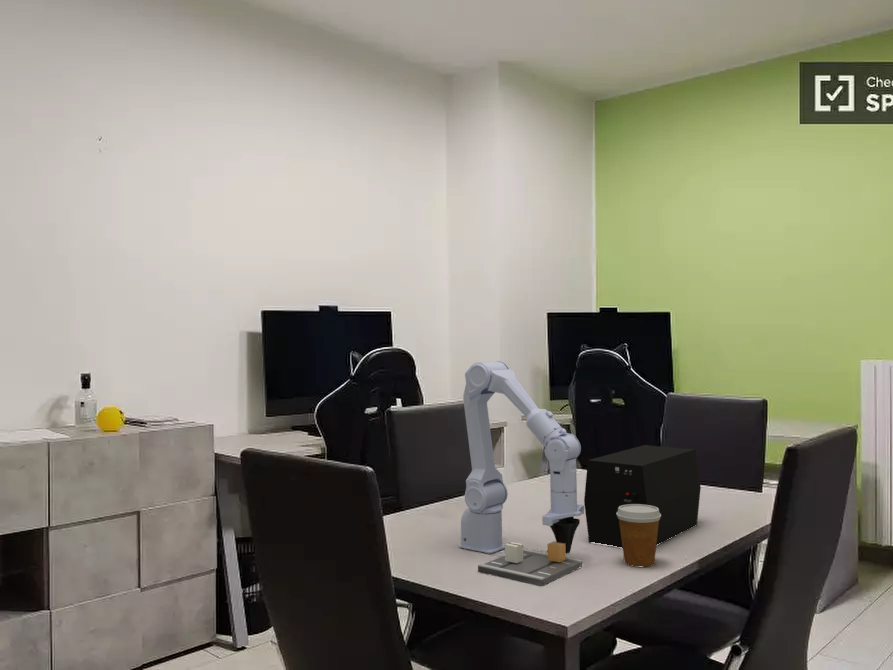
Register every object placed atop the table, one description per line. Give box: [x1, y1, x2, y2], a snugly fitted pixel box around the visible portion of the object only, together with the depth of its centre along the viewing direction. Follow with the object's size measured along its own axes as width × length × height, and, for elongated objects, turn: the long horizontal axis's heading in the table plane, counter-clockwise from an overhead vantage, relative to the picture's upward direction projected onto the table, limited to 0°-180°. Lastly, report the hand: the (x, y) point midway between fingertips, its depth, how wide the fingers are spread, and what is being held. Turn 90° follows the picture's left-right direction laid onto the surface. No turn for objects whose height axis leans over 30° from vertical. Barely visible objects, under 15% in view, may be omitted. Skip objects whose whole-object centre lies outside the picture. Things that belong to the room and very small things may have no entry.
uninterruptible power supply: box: [583, 444, 701, 548], centre depth 193 cm, size 16×34×20 cm, turn 141°
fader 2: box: [547, 540, 567, 562], centre depth 167 cm, size 3×2×4 cm
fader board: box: [477, 548, 583, 587], centre depth 165 cm, size 16×16×2 cm
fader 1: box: [504, 541, 524, 563], centre depth 166 cm, size 3×2×4 cm
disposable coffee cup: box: [616, 504, 661, 567], centre depth 168 cm, size 10×10×12 cm
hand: (564, 552), depth 169 cm, fingers closed
